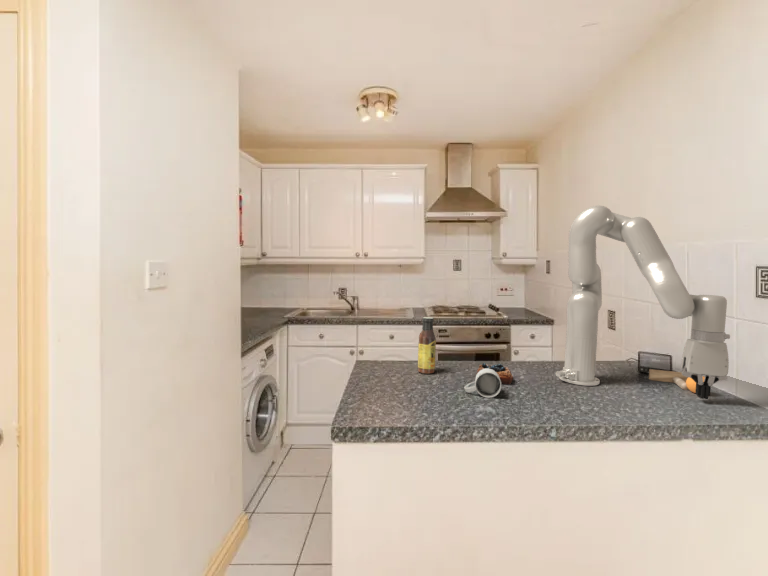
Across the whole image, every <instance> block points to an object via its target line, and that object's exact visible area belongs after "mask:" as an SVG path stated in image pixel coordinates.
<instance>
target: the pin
mask: <svg viewBox="0 0 768 576" xmlns="http://www.w3.org/2000/svg"><path fill="white" fill-rule="evenodd" d="M672 381H673V382H674V384H676V386H678V387H679V388H681V389H682V390H683V391H690V390H689V389H688V388H687V386H686V382H685V381H683V380H682V379H681V378H679V377H673V379H672Z"/></svg>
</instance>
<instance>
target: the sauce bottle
mask: <svg viewBox="0 0 768 576" xmlns="http://www.w3.org/2000/svg"><path fill="white" fill-rule="evenodd" d="M434 318H435V317H431V316H424V317H422V319H421V321H422V328H421V332H420V333H419V336H418V346H417V347H418V349H417V371H418V373H421V374H424V375H425V374H426V375H429V374H430V375H431V374H434V373H435V370H436V369H435V368H436V353H437V351H436V350H437V348H436V347H437V339H436V335H435V332H434V321H435V320H434Z"/></svg>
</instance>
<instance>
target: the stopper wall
mask: <svg viewBox="0 0 768 576" xmlns="http://www.w3.org/2000/svg"><path fill="white" fill-rule="evenodd" d="M673 377H679V378H681V379H682V380H683V381H685V382H686V380H687V378H688V377H686V376H684V375H682V371H670V370H661V369H652V368H651V369H650V368H649V370H648V380H650V381H654V382H664V383H674V382H673V381H672V379H673ZM674 384H675V383H674Z"/></svg>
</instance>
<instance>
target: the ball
mask: <svg viewBox="0 0 768 576" xmlns="http://www.w3.org/2000/svg"><path fill="white" fill-rule="evenodd" d="M704 379H705V375H703V382H704ZM686 386H687V388H688V389H689V390H688V391H690V392H692V393H694V394H696V382H695V381H694V380H693V379H692V378H689V377H688V378H687V380H686Z"/></svg>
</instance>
